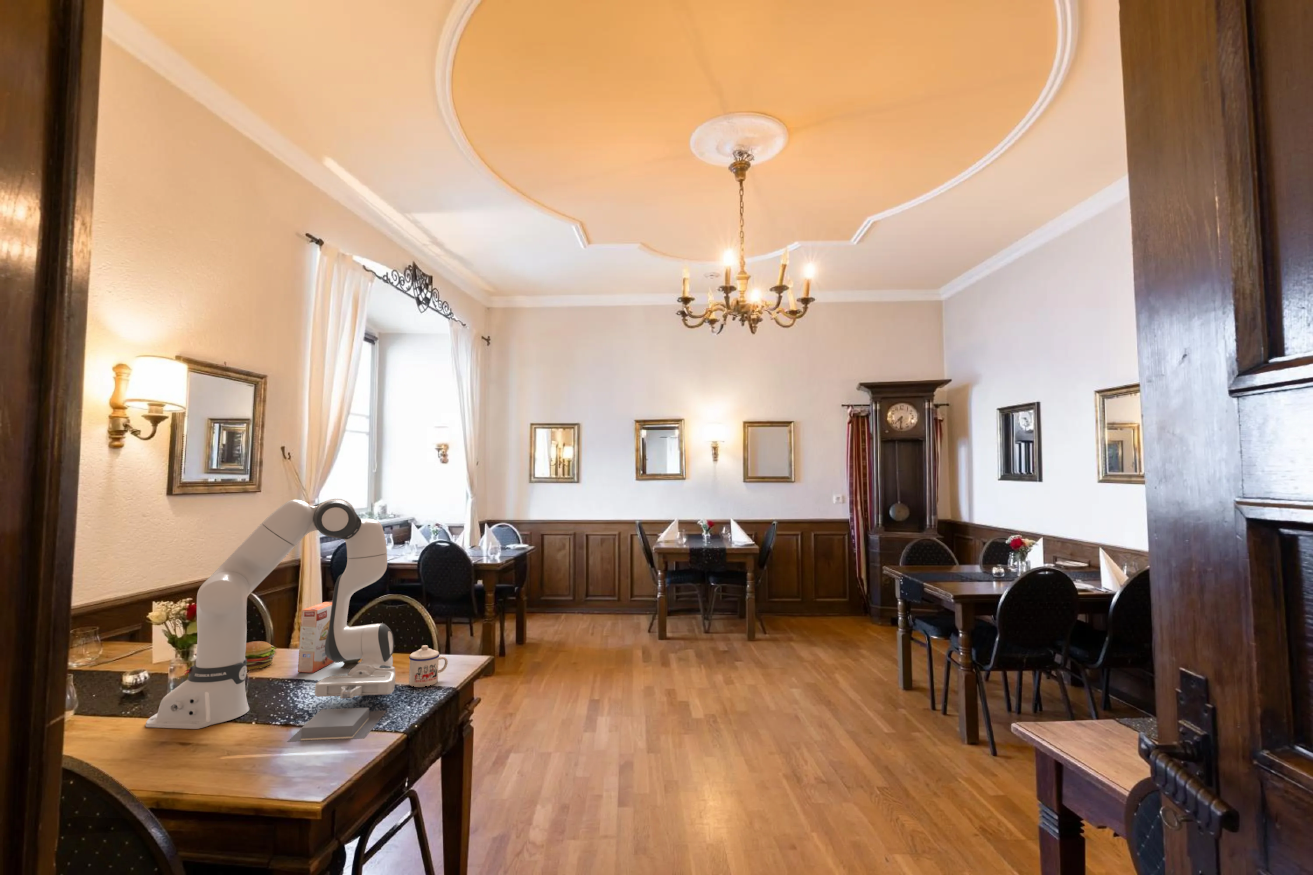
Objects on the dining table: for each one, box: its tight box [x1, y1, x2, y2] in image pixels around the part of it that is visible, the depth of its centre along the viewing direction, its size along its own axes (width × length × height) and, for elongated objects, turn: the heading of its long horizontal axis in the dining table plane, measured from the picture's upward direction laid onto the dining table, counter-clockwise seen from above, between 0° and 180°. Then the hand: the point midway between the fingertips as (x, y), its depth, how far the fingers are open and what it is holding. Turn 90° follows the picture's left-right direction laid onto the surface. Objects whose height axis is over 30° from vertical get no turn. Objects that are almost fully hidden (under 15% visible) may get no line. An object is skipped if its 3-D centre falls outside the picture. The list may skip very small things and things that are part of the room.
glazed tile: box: [300, 707, 370, 741], centre depth 154 cm, size 12×3×12 cm
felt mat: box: [286, 710, 387, 743], centre depth 157 cm, size 18×18×1 cm
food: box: [245, 640, 277, 671], centre depth 208 cm, size 14×14×8 cm
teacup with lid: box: [408, 644, 449, 688], centre depth 193 cm, size 12×9×12 cm
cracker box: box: [297, 601, 335, 674], centre depth 207 cm, size 14×6×21 cm, turn 179°
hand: (346, 695), depth 160 cm, fingers closed
